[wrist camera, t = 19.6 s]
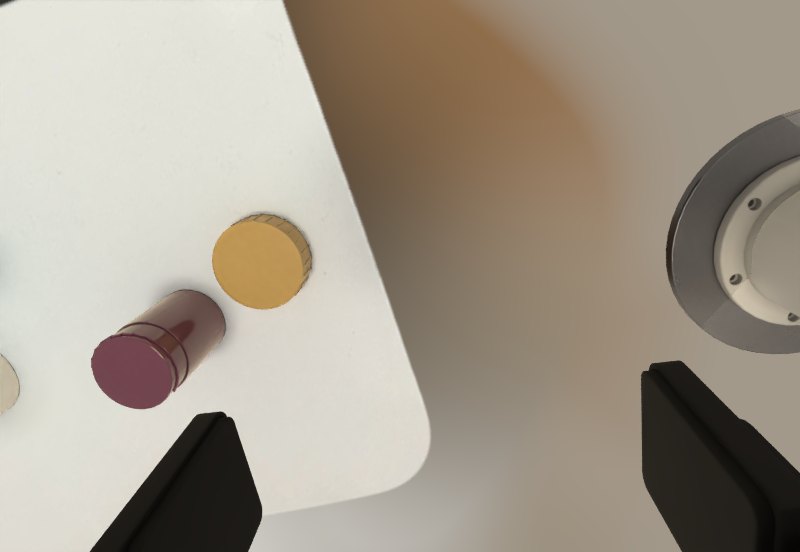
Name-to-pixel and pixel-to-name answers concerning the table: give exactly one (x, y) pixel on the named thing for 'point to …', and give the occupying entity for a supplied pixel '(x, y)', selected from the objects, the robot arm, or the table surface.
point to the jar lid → (261, 261)
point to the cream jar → (158, 349)
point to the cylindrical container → (7, 385)
